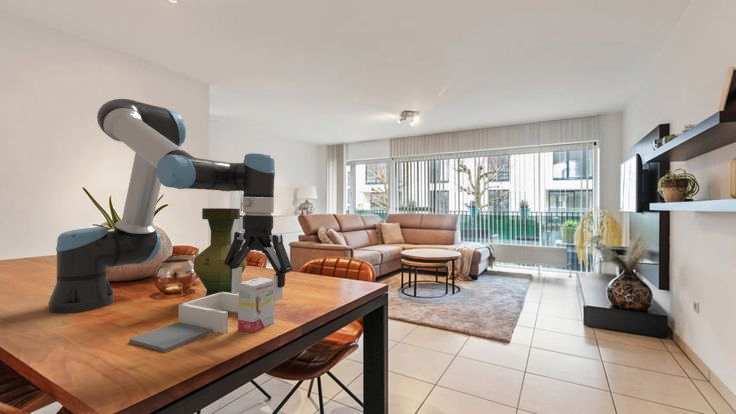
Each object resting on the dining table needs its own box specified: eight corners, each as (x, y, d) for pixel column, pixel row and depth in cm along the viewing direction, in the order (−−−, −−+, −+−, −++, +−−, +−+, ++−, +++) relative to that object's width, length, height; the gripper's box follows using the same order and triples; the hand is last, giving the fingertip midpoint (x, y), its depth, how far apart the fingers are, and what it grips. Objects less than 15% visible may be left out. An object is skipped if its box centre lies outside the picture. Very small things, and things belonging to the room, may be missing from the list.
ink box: (252, 333, 81) (252, 285, 81) (237, 330, 83) (237, 283, 83) (275, 322, 89) (275, 278, 89) (260, 319, 91) (261, 276, 91)
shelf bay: (178, 323, 88) (178, 304, 88) (222, 308, 101) (222, 291, 101) (223, 333, 81) (223, 313, 81) (264, 315, 94) (264, 298, 94)
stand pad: (129, 342, 75) (129, 338, 75) (178, 325, 86) (178, 322, 86) (165, 352, 71) (165, 348, 71) (212, 332, 82) (212, 329, 82)
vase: (229, 290, 122) (230, 208, 121) (256, 297, 112) (257, 208, 112) (183, 300, 108) (183, 208, 108) (209, 310, 99) (210, 209, 99)
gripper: (211, 212, 88) (209, 292, 88) (289, 216, 78) (286, 307, 78) (233, 212, 94) (231, 286, 95) (307, 216, 85) (305, 299, 85)
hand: (256, 296), depth 86 cm, fingers open, 13 cm apart
